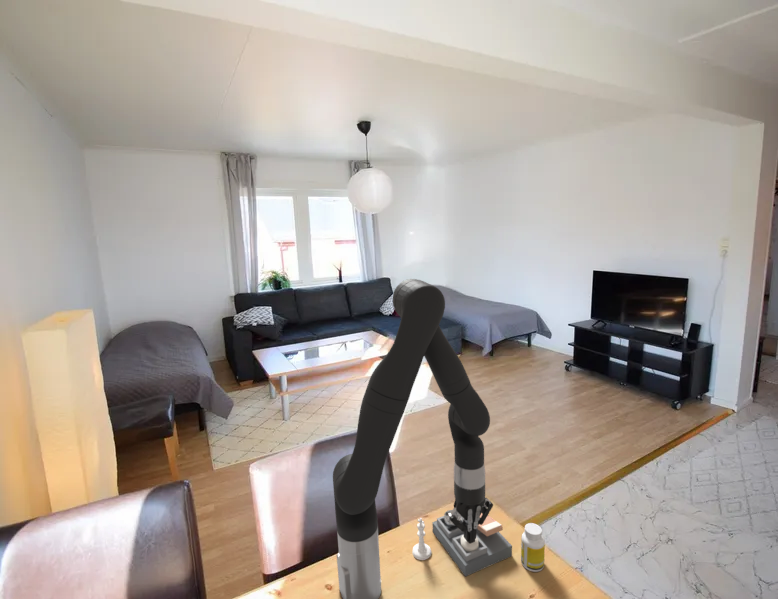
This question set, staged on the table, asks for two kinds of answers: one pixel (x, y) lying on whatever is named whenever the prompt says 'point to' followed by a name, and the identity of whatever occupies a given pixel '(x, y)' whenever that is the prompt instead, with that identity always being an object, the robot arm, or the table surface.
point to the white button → (469, 545)
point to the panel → (486, 555)
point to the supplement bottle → (532, 548)
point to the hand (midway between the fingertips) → (470, 540)
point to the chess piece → (421, 544)
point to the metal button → (448, 522)
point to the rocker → (489, 526)
